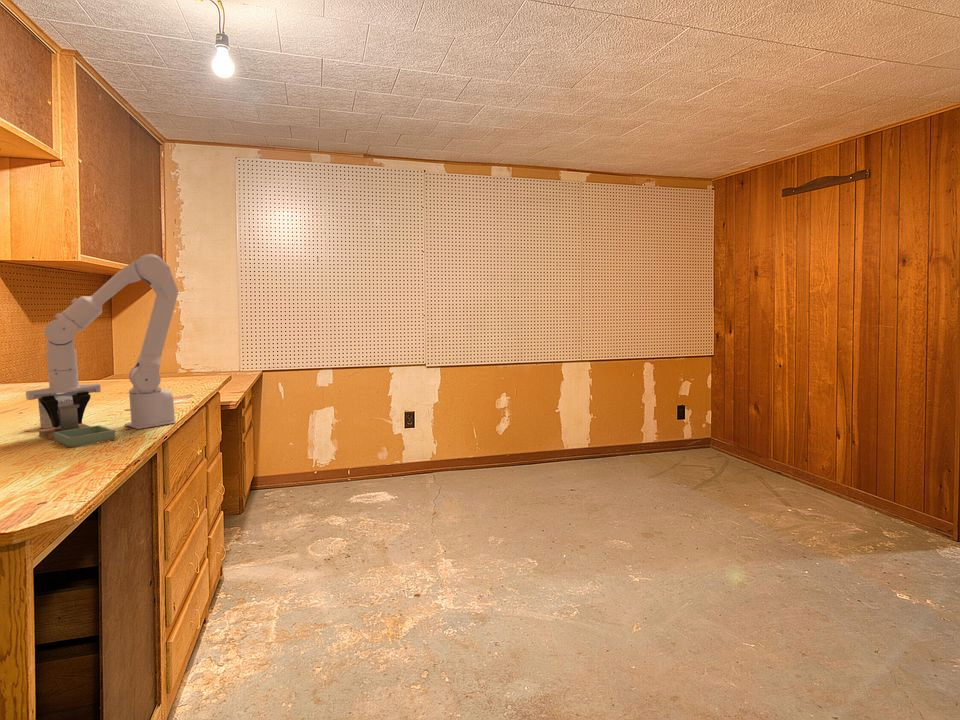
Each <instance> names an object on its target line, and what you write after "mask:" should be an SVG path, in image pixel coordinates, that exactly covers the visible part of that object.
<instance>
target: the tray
mask: <svg viewBox="0 0 960 720" xmlns="http://www.w3.org/2000/svg"><path fill="white" fill-rule="evenodd" d="M90 426H91V425H90ZM114 439H115V440H116V430H114V429H111V428H108V427H106V426H102V425H100V424H98V425H92V426H91V427H85V428H78V429H72V430H65V431H59V432H54V440H53V442H54V443H56V442H57V443H56V444H58V443H59V445H61V446H63V445H64V446H63V447H65V446H66V447H65V448H68V447H71V448H76V447H75V446H77V447H81V445H82V446H87V445H86V444H88V445H92V444H91V443H94V444H98V443H97V442H99V443H103V442H102V441H105V442H109V441H108V440H111V441H115V440H114Z"/></svg>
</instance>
